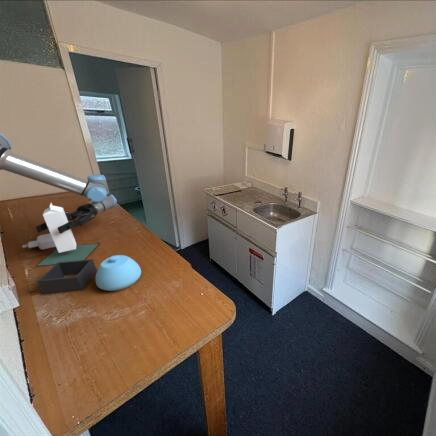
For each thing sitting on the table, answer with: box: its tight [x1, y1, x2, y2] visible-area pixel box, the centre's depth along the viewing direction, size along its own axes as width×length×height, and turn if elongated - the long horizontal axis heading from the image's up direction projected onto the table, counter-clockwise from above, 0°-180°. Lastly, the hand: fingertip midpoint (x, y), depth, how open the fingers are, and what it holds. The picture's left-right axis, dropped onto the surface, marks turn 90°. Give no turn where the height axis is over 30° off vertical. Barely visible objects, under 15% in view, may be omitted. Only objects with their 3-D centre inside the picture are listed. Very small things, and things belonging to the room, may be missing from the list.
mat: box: [36, 243, 99, 267], centre depth 109 cm, size 16×16×1 cm
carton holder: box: [36, 258, 98, 295], centre depth 92 cm, size 12×12×6 cm
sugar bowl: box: [95, 254, 142, 292], centre depth 93 cm, size 15×15×12 cm
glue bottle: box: [21, 232, 56, 251], centre depth 114 cm, size 5×9×15 cm
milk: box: [42, 202, 77, 253], centre depth 103 cm, size 6×6×22 cm
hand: (48, 230), depth 99 cm, fingers closed on milk, 8 cm apart
